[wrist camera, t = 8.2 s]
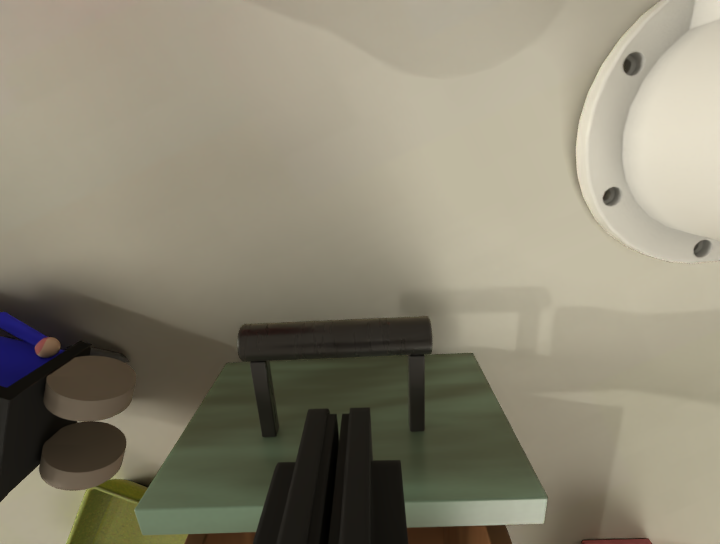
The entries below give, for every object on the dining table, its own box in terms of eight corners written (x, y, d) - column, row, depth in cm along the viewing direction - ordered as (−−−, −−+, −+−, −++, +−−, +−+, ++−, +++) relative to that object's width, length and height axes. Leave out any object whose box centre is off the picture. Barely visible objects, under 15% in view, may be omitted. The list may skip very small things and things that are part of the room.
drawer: (210, 279, 19) (91, 384, 11) (477, 267, 19) (567, 365, 10) (269, 588, 27) (226, 792, 18) (461, 584, 26) (506, 789, 18)
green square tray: (236, 504, 26) (225, 534, 24) (192, 580, 28) (179, 613, 26) (110, 456, 24) (88, 483, 22) (77, 540, 27) (54, 572, 25)
